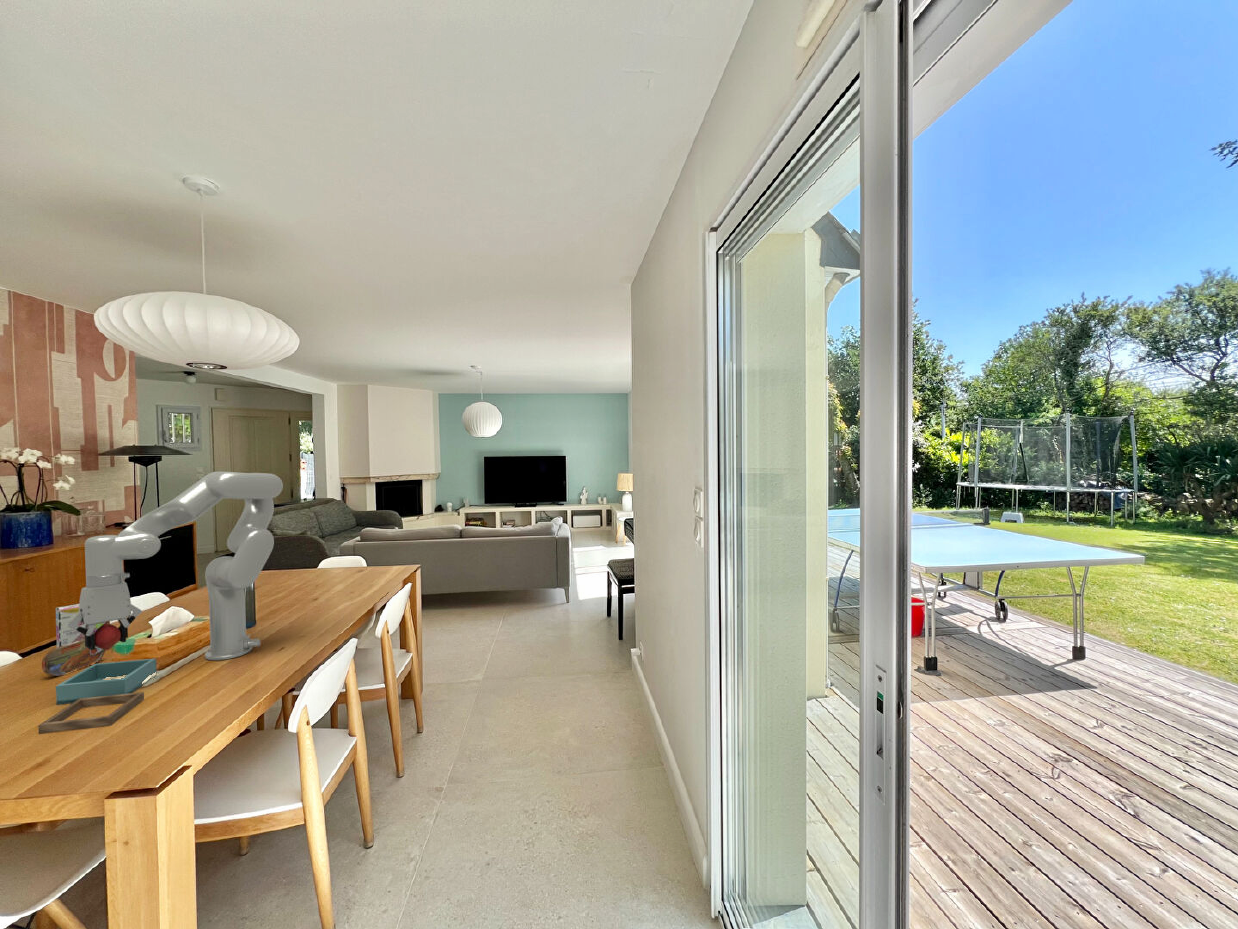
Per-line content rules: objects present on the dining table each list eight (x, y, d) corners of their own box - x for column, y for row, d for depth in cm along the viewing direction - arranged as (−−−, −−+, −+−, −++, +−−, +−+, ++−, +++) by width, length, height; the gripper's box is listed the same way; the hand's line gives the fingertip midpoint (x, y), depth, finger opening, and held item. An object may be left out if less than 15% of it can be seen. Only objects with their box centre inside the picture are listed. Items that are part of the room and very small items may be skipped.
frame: (144, 699, 146) (143, 692, 146) (110, 725, 132) (109, 717, 132) (80, 706, 142) (79, 698, 142) (38, 733, 129) (38, 725, 128)
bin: (156, 675, 161) (156, 658, 161) (125, 697, 147) (124, 679, 146) (95, 681, 157) (94, 664, 157) (56, 705, 143) (55, 686, 143)
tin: (48, 681, 158) (47, 652, 158) (40, 680, 158) (38, 651, 158) (106, 660, 173) (105, 634, 172) (98, 660, 173) (97, 633, 173)
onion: (96, 655, 147) (95, 626, 147) (89, 651, 150) (88, 622, 150) (124, 648, 152) (123, 620, 152) (117, 644, 155) (116, 617, 155)
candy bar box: (60, 662, 172) (57, 610, 171) (56, 658, 174) (54, 607, 174) (107, 651, 181) (105, 601, 180) (103, 647, 184) (101, 599, 183)
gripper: (138, 572, 160) (140, 633, 161) (56, 585, 145) (59, 652, 146) (149, 575, 156) (151, 638, 157) (66, 589, 142) (69, 658, 142)
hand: (107, 644), depth 151 cm, fingers closed on onion, 5 cm apart
